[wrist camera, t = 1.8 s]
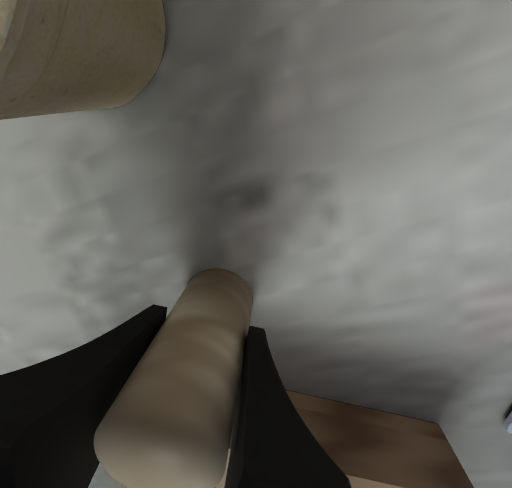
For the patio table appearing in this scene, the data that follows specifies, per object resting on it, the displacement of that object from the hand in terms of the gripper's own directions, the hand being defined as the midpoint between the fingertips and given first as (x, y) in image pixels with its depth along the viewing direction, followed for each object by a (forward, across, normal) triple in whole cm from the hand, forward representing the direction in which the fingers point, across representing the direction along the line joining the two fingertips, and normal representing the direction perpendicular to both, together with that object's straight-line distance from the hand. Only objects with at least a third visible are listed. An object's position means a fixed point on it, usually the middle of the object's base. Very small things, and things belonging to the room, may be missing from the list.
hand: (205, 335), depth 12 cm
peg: (+3, 0, 0) cm, 3 cm away
